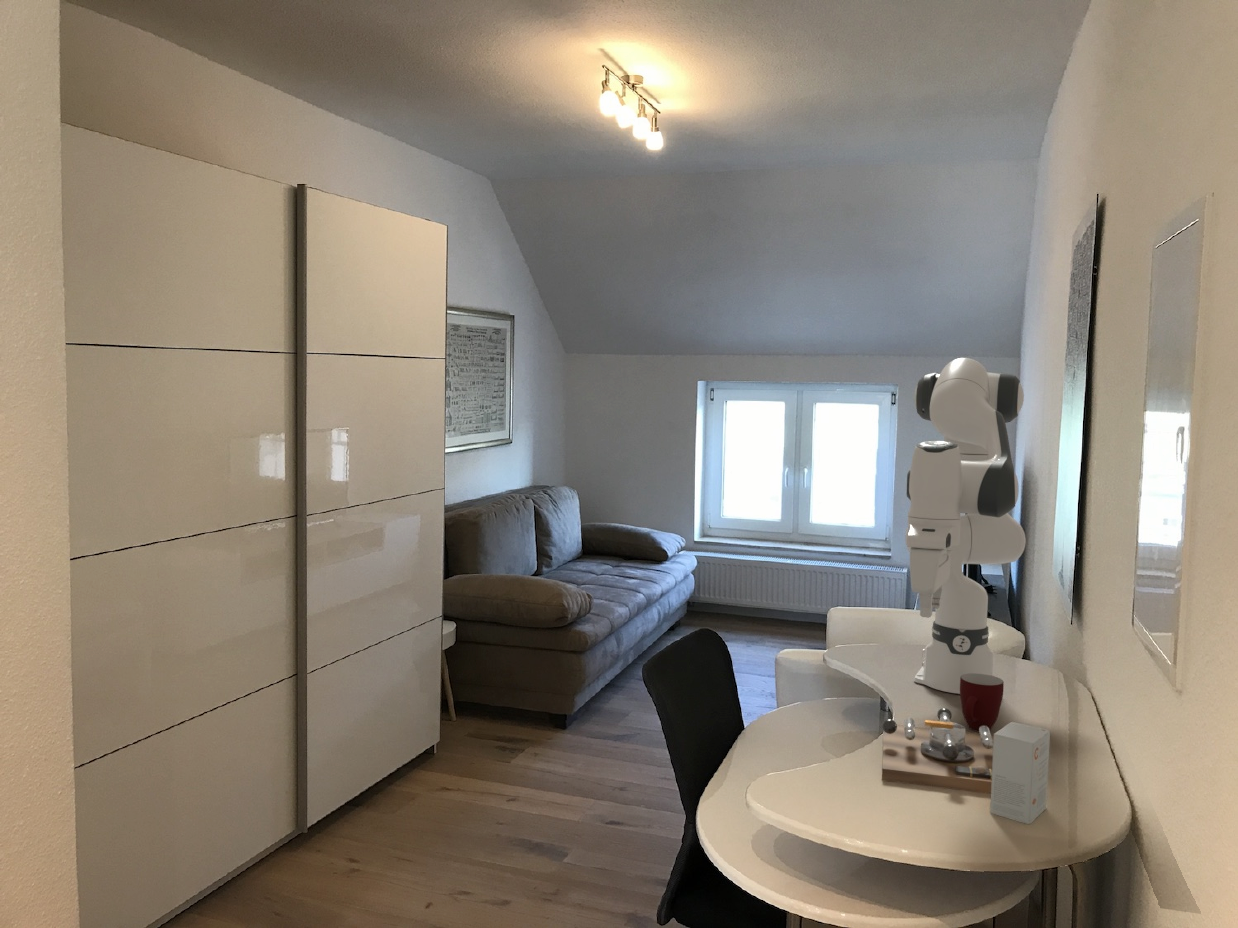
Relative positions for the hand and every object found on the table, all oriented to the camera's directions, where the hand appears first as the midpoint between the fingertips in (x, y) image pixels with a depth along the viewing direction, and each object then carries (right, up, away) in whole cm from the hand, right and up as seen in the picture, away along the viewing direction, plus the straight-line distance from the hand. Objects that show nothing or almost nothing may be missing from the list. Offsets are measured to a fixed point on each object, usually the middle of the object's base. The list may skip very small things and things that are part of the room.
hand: (930, 612), depth 174 cm
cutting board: (+4, -28, +4) cm, 28 cm away
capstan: (+4, -25, +4) cm, 26 cm away
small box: (+9, -30, -16) cm, 35 cm away
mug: (+16, -27, +21) cm, 38 cm away
